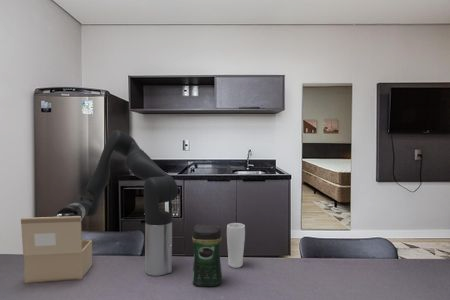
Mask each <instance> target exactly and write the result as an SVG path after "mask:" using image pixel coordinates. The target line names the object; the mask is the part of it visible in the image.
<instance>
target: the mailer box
mask: <svg viewBox="0 0 450 300" xmlns="http://www.w3.org/2000/svg"><path fill="white" fill-rule="evenodd" d="M91 266H93V240H89V239H88V240H82V253H65V254H46V255H27V256H24V269H23V270H24V275H23V276H24V284H33V283H46V282H61V281H74V280H75V281H76V280H82V279H83V278H84V277H85V276H86V274H87V272H88V271H89V269H90V268H91Z"/></svg>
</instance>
